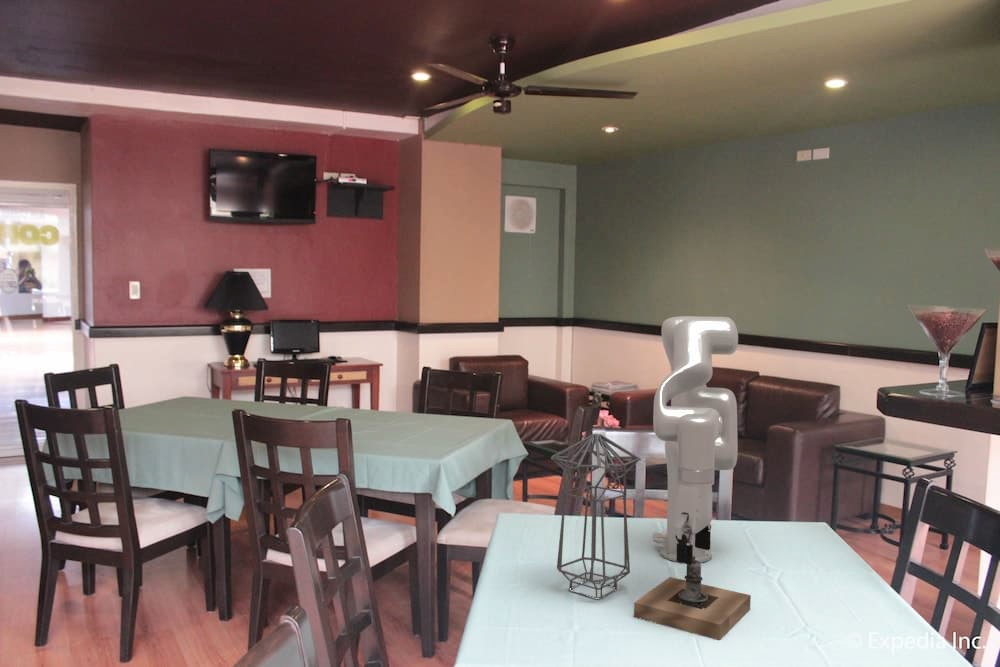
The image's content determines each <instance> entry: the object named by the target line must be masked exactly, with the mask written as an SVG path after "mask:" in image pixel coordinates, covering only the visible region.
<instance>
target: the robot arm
mask: <svg viewBox="0 0 1000 667" xmlns="http://www.w3.org/2000/svg"><path fill="white" fill-rule="evenodd" d="M661 339H662V345H663V348H664V351H665V354H666V356H667V360H668V362H669V365H670V371H671V372H670V373H669V374H668V375H667V376H666V377H664V379H663V380H662V381H661V383H660V384H659V386H658V387H657V389H656V391H655V394H654V400H653V417H652V418H653V419H652V420H653V432H654V435H655V436H656V437H657V438H658V440H661V441H663V442H664V453H665V460H666V470H667V505H666V506H667V509H666V510H667V512H666V513H667V515H666V518H667V519H666V521H667V522H666V523H667V524H666V533H665V534H664V533H661V532H655V531H654V532H653V533H652V542H653V543H657V544H661V545H662V546H661V547H660V550H659V552H660V555H661V556H662V557H663V558H665V559H667V560H670V561H673V562H676V563H677V562H678V564H679V563H680V564H684V565H687V564H688V565H691V564H692V563H693V556H695V560H697V561H699V562H700V564H701V563H705V562H708V561H710V560H711V559H712V557H713V552H712V551H711V536H712V535H711V533H712V532H711V531H712V524H711V523H712V520H713V485H715V471H730V470H732V469H734V468H735V466H736V465H737V461H738V453H739V452H738V449H739V448H738V447H739V446H738V405H737V399H736V396H735V394H734V392H733V391H732V390H730V389H729V388H724V387H708V386H707V383H709V381H710V380H711V379H712V377H713V374H714V372H713V370H714V369H713V358H712V355H725V356H726V355H727V356H728V355H729V356H730V355H733V354H735V352H736V351H737V350H738V349H737V348H738V344H739V333H738V328H737V325H736V323H735V321H734V320H733V319H732V318H730V317H728V316H697V315H696V316H695V315H691V316H689V315H688V316H687V315H686V316H685V315H683V316H674V317H668V318H666V319H665V320H664V321H663V322H662V325H661ZM670 400H671V401H670ZM669 401H670V402H671V403H670V406H669V405H667V403H668V402H669Z"/></svg>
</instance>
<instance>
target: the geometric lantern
mask: <svg viewBox="0 0 1000 667" xmlns="http://www.w3.org/2000/svg"><path fill="white" fill-rule="evenodd" d="M591 444H592V445H591ZM609 444H610V445H609ZM590 446H591V447H590ZM611 446H613V447H614V448H615V449H618V450H620V451H621V452H623V453H624V454H627V455H628V456H626V455H625V456H624V455H623V456H621V455H619V454H618V453H617V452H616V451H615V449H614V448H612V447H611ZM575 447H577V448H576V449H575V450H574V451H573V452H571V453H570V454H569V455H567V456H566V455H565V456H564V455H563V454H565V453H567V452H568V451H570V450H571V449H573V448H575ZM600 447H601V448H602V451H603V452H600ZM589 448H590V449H589ZM594 449H595V450H594ZM588 452H589V453H590V452H591V453H592V454H593V455H594V456H595V457H596V461H597V462H596V463H597V464H582V463H583V461H584V459H585V458H586V455H587V453H588ZM601 456H602V457H604V459H605V461H604V460H603V458H601ZM578 458H579V460H578ZM550 459H551V461H553V462H554V463H556V464H557V466H558V467H560V468H561V469H562V470H563V472H565V474H566V476H565V484H564V488H563V490H562V509H561V523H560V532H559V541H558V543H559V544H558V551H557V553H558V554H557V560H556V570H558V572H559V573H561V574H562V575H563V577H564V578H566V579H567V580H568V582H569V584H568V585H569V586H568V589H569V588H571V590H573V588H572V587H573V584H574V585H576V584H579V585H578V586H583V587H585V588H586V587H587V588H589V589H594V590H595V596H592V595H589V594H587V593H582V592H581V593H582V594H585V595H588V596H591V597H594V598H602V599H604V598H605V597H607V596H609V595H610V593H611V594H613V593H615V592H616V591H618V590H617V589H618V582H619V581H621V579H623V578H625V577H627V575H629V574H630V573H631V566H630V551H629V550H630V549H629V548H630V547H629V534H628V516H627V481H626V480H627V479H626V476H627V475H626V474H628V472H630V470H632V469H633V467H634V466H636V464H638V462H639V461H642V458H640V457H639V456H637V455H636V454H633V452H630V451H629V450H627V449H626V448H624V447H622V446H621V445H619V444H618V443H616V442H614V441H613V440H611V439H609V438H608V437H606V436H604V435H603V434H601V433H599V434H598V433H592V434H590V435H588V436H587V437H585V438H584V439H582V440H580V441H578V442H576V443H574V444H572V445H570V446H568V447H566V448H564V449H563V450H561V451H558V452H556V453H555V454H553V455H552V456H551V457H550ZM625 459H626V460H627V459H629V461H628V462H626V463H624V462H623V460H625ZM608 460H609V461H608ZM614 461H616V462H619V464H615V463H614ZM609 462H610V463H609ZM565 463H566V464H567V465H566V464H565ZM602 464H603V465H604V466H602ZM630 464H631V465H630ZM571 465H574V466H571ZM629 465H630V466H629ZM628 466H629V467H628ZM627 467H628V468H627ZM580 468H591V469H589V470H587V471H586V472H584V473H582V474H581V471H580V470H581V469H580ZM599 468H600V469H605V470H604V473H602V476H601V477H600V478H599V480H598V481H597V483H596V484H595V485H588V483H587V482H586V480H585V479H584V477H585V476H587V475H589V474H590V473H593V472H594V471H596V470H598V469H599ZM572 470H576V471H577V473H578V475H577V474H575V475H572V474H571V471H572ZM622 470H623V473H622V474H621V475H619V472H621V471H622ZM612 471H615V475H614V473H613V472H612ZM607 473H609V475H610V476H611V477H612V478H611V479H610V480H609V482H608V483H607V485H606V487H602V486H599V485H600V484H601V482H602V481H603V479H604V478H605V476H606V474H607ZM570 478H571V479H574V478H575V479H581V482H582V483H583V485H584V486H580V487H576V488H573V489H569V490H568V483H569V480H570ZM621 479H623V488H622V484H621V483H622V482H621V481H620V480H621ZM613 480H614V481H618V485H619V488H620V490H617V489H612V488H608V487H609V486H610V484H611V482H612V481H613ZM583 489H586V492H585V495H586V496H585V497H583V496H580V495H575V494H571V493H570V492H574V491H578V490H583ZM590 489H594V494H593V493H592V491H591V490H590ZM597 489H599V490H603V491H602V492H601V494H600V495H599V497H598V496H597ZM606 491H610V492H616V493H620V494H621V495H618V496H613V497H609V498H606V499H601V498H602V497H603V495H604V493H605V492H606ZM567 496H569V497H574V498H577V499H581V500H585V507H584V508H585V509H584V521H583V523H584V524H583V538H582V550H581V551H582V552H581V557H580V558H577V559H574V560H571V561H569V562H566V563H563V548H564V547H563V545H564V532H565V531H564V530H565V529H564V528H565V514H566V512H565V511H566V505H567V504H566V503H567V501H566V500H567ZM589 496H590V497H591V498H589ZM597 497H598V498H597ZM620 498H622V500H623V502H622V503H623V504H622V505H623V540H624V541H623V543H624V544H623V546H624V547H623V548H624V554H623V555H624V556H623V558H624V563H623V564H624V565H623V564H620V563H619V564H618V563H615V562H612V561H607V560H606V555H605V554H606V551H605V548H606V547H605V524H604V522H605V519H604V517H605V516H604V502H608V501H611V500H616V499H620ZM589 501H590V502H591V503H592V505H591V506H592V507H591V509H592V510H591V543H590V546H591V549H590V553H591V554H590V555H591V556H590V557H585V551H586V539H587V525H588V524H587V523H588V522H587V521H588V509H589V508H588V507H589ZM597 502H598V503H600V521H601V522H600V526H601V558H602V559H601V558H596V550H597V549H596V548H597V547H596V545H597V544H596V542H597V504H598V503H597ZM586 560H587V561H590V569H589V571H588V570H587V566H586V563H585V561H586ZM580 561H582V564H583V568H584V571H585V572H583V573H580V574H575V573H573V572H570V571H567V570H563V567H568V566H570V565H572V564H575V563H577V562H580ZM595 561H596V562H599V563H602V574H599V573H595V572H594V563H595ZM606 565H611V566H614V567H618V568H622V570H621V571H620V572H619V573H618V574H615V575H612V576H609V575H608V576H607V575H606ZM587 575H589V577H588V578H587ZM569 576H571V577H573V578H570V577H569ZM594 576H596V577H597V576H598V577H601V579H594ZM576 579H580V580H583V581H584V580H586V581H589V582H590V583H592V584H593V586H592V585H588V584H586V583H585V584H584V583H582V584H581V583H580V582H577V581H575V580H576ZM610 580H613V581H611V582H609V583H606V582H608V581H610ZM595 582H599V583H602V584H600V587H597V585H596V583H595ZM604 584H606V585H604ZM609 586H613V587H615V588H613V587H612V588H613V590H611V591H609V592H607V593H606V594H603V589H605V588H607V587H609ZM599 590H600V596H599V597H598V591H599ZM615 590H616V591H615ZM612 592H613V593H612ZM608 594H609V595H608ZM606 595H607V596H606ZM604 596H605V597H604ZM603 597H604V598H603ZM594 598H593V599H594Z"/></svg>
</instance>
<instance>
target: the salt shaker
mask: <svg viewBox="0 0 1000 667" xmlns="http://www.w3.org/2000/svg"><path fill="white" fill-rule="evenodd" d="M701 570H702V565H701V563H700V562H699V561H697V560H695V556H693V563H692V564H691V565H688V564H686V572H685V573H686V575H684V580H686V588H685V591H682V592H680V593H679V597H680V601H681V604H683V605H687V606H691V607H695V608H699V609H704V608H703V607H704V606H705V604H706V600H707V599H708V597H707V595H706V594H704V593H702V591H701V584H702V580H703V577H702V575H701V574H702V571H701Z"/></svg>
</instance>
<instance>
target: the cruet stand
mask: <svg viewBox="0 0 1000 667" xmlns="http://www.w3.org/2000/svg"><path fill="white" fill-rule="evenodd" d="M685 588H686V579H682V578H676V577H672V576H669V577H668V578H666V579H664V580H663V581H662V582H661V583H659V584H658V585H656V586H655V587H653V588H652V589H651V590H650V591H648V592H647V593H646V594H644V595H642V596H641V597H640V598H639V599H637V600H636V601H634V602H633V617H634V618H636V617H637V618H636V619H639V618H641V619H640V620H643V619H645V620H644V621H647V620H648V621H647V622H650V621H652V623H654V622H656V623H655V624H658V625H662V624H663V625H662V626H665V625H666V627H669V626H670V627H669V628H673V629H676V630H681V631H684V632H688V633H692V634H696V635H699V636H703V637H707V638H711V639H715V640H718V641H720V640H722V638H723V637H724V636H725V635H726V634H727V633H729V631H731V629H732V628H733V627H735V626H736V624H737V623H738V622H739V621H740V620H742V618H743V617H744V616H745V615H746V614H747V613H748V612H749V611H750V610H751V597H752V596H751V594H746V593H743V592H738V591H734V590H729V589H726V588H721V587H717V586H712V585H707V584H704V583H703V584H702V583H701V591H702V593H704V594H706V595H707V597H708V599H707V600H706V604H705V606H704V607H703V608H702V609H699V608H695V607H691V606H687V605H683V604H682V603H681V601H680V597H679V593H680V592H682V591H685Z"/></svg>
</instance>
